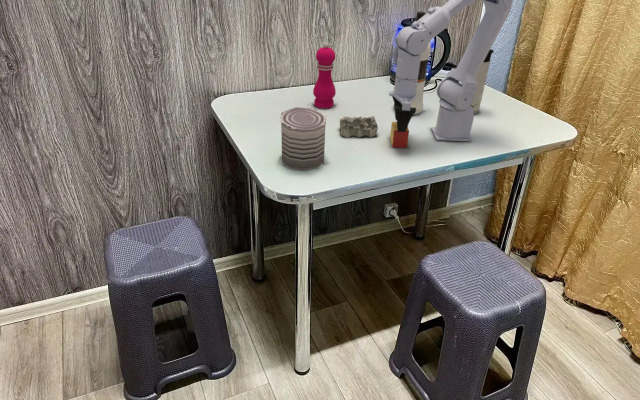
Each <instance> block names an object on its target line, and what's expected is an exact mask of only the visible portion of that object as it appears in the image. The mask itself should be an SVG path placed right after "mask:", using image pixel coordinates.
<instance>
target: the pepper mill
mask: <svg viewBox="0 0 640 400" xmlns="http://www.w3.org/2000/svg"><path fill="white" fill-rule="evenodd" d="M329 46H330V44H329V43H328V42H327V41H325V42H323V44H322V47H319V49H317V51H316V54H315V60H316V61H317V63H316V64H317V66H316V68H317V69H318V76H317V80H316V82H315V84H314V86H313V90H312V95H313V96H314V106H315V107H316V108H318V109H330V108H333V107H334V103H335V100H334V99H333V98H334V97H336V94H337V93H336V91H337V89H336V86H335V83H334V82H333V78H332V71H333V69H334V62H335V60H336V52H335V51H334V49H332V48H331V47H329Z"/></svg>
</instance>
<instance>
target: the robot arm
mask: <svg viewBox="0 0 640 400" xmlns="http://www.w3.org/2000/svg"><path fill="white" fill-rule="evenodd" d="M474 2H476V0H448V1H447V2H446V3H445V4H444V5H443V6H434V7H432V6H431V7H429V8H428V9H427V12H425V13H426V14H425V15H424V16H423V17H421V18H420V19H419V20H418V21H417V22H416V20H415V21H413V22H412V24H411V26H410V25H409V26H405V27H403V28H402V29H401V30H400V31H399V32H398V34H397V37H395V38H394V43H395V45H396V47H397V62H396V70H395V77H394V87H393V90H389V91H388V96H389V97H392V101H393V110H394V118H395V121H396V122H397V130H398V132H406V130H407V127H408V128H409V125H410V122H411V120H412V118H413V116H414V114H415V112H416V108H411V103H412V102H413V100H414V99H415V98H416V88H417V81H418V74H419V67H420V61H421V54H422V53H423V52H424V51H425V50H426V49H427V47H428V44H429V42H430V43H431V42H432V40H433V39H434V38H435V37H437V36H438V35H439V34H440V33H442V32H443V31H444V30H445V29H446V28H448V26H450V23H451V19H452V18H453V17H454V16H456V15H457V14H459V13H460V12H461V11H462V10H464V9H466V8H467V7H469V6H470V5H471V4H473V3H474ZM482 2H483V4H484V8H485V13H484V15H483V16H482V18H481V20H480V22H479V24H478V26H477V28H476V29H475V32H474V34H473V36H472V38H471V40H470V42H469V43H468V45H467V47H466V49H465V51H464V53H463V55H462V57H461V58H460V61H459V63H458V65H457V67H456V68H455V69H452V70H450V71H448V72H447V73H446V75H445V77H444V78H443V79H442V80H440V82H439V83H438V85H437V88H436V96H437V97H438V98H439V101H438V103H439V108H438V113H437V119H436V124H435V125H436V126H432V127H431V131H432V133H433V136H434V138H435V140H436V141H448V142H449V141H450V142H451V141H452V142H470V140H471V139H470V136H471V132H472V128H473V123H474V116H475V114H474V111H473V108H472V107H471V104H472V103H473V101H474V97H475V92H476V90H477V88H478V85H477V81H476V78H475V76H476V74H477V73H478V71H479V69H480V67H481V65H482V63H483V61H484V60H485V58H486V56H487V54H488V52H489V50H490V49H491V48H492V47H493V45H494V43H495V41H496V39H497V37H498V35H499V33H500V32H501V30H502V28H503V27H504V25H505V23H506V20H507V19H508V18H509V15H510V13H511V10H512V6H513V2H514V0H482ZM415 115H416V114H415Z"/></svg>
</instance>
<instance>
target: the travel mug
mask: <svg viewBox="0 0 640 400" xmlns="http://www.w3.org/2000/svg"><path fill="white" fill-rule="evenodd" d="M494 51H495V50H494V49H491V48H490V50H489V52H488V54H487V56H486V58H485V60H484V61H483V63H482V65H481V67H480V69H479V71H478V73H477V74H476V76H475V78H476V81H477V85H478V88H477V90H476V92H475V97H474V101H473V103H472V104H471V107H472V108H473V111H474V115H477V114H479V112H480V108H481V104H482V100H483V99H482V98H483V94H484V91H485V85H486V82H487V77H488V73H489V68H490V63H491V58H492V54H494Z"/></svg>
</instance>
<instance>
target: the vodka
mask: <svg viewBox="0 0 640 400" xmlns="http://www.w3.org/2000/svg"><path fill="white" fill-rule="evenodd" d="M426 13H427V12H425V11H417V12H416V17H415V21H416V22H417V21H418V20H419V19H420V18H421V17H423V16H424V15H425V14H426ZM431 50H432V45H431V41H430V42H429V44H428V47H427V49H426V50H425V51H424V52H423V53H422V54H421V61H420V67H419V74H418V81H417V88H416V98H415V99H414V100H413V102H412V103H411V108H416V112H415V114H414V115H415V116H416V115H418V114H420V113H422V111H423V109H424V90H425V85H426V83H427V81H426V76H427V71H428V70H427V69H428V63H429V59H430V53H431ZM414 115H413V116H414Z"/></svg>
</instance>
